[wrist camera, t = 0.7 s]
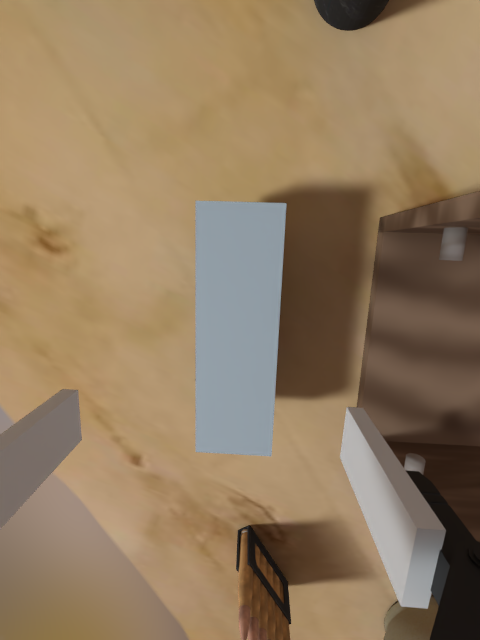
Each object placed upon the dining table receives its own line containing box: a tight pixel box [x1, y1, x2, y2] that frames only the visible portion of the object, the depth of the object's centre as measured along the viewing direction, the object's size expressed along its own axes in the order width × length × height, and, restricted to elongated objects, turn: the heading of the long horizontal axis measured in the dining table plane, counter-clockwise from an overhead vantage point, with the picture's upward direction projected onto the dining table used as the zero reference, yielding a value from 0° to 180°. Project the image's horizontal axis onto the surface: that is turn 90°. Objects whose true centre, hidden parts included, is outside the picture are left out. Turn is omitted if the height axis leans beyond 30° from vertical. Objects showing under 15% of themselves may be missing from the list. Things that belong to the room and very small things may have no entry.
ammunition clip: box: [236, 526, 291, 640], centre depth 36 cm, size 11×2×12 cm, turn 30°
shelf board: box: [196, 201, 286, 456], centre depth 28 cm, size 22×7×4 cm, turn 178°
